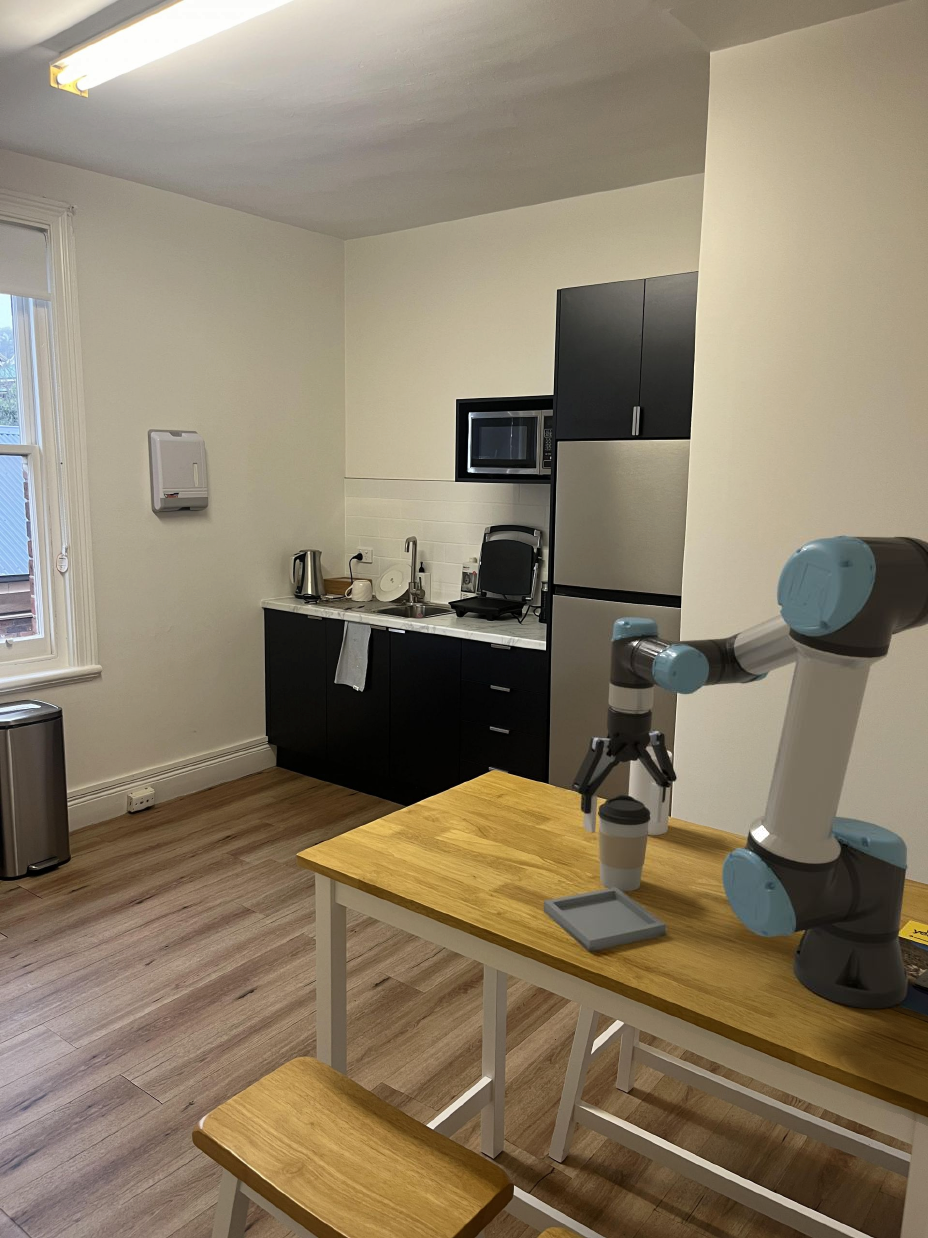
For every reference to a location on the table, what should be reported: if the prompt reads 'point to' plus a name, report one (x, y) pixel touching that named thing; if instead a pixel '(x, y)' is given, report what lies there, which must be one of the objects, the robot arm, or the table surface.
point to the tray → (604, 919)
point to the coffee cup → (622, 842)
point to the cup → (648, 792)
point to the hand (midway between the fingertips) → (622, 825)
